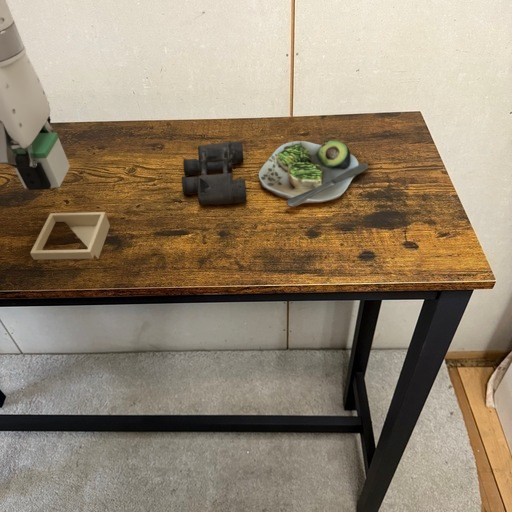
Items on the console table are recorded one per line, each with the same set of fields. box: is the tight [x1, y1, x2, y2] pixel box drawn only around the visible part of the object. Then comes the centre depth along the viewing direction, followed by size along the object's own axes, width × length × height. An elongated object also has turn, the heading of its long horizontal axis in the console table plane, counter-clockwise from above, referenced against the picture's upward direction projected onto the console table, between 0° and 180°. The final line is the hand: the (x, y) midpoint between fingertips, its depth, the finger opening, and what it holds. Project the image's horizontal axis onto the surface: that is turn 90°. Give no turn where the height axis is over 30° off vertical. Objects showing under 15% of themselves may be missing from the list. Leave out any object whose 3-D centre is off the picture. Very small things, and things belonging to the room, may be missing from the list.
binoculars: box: [181, 141, 248, 206], centre depth 81 cm, size 11×16×6 cm
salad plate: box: [258, 139, 369, 208], centre depth 81 cm, size 19×18×5 cm
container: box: [13, 132, 71, 189], centre depth 63 cm, size 5×5×6 cm
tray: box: [29, 211, 111, 261], centre depth 72 cm, size 9×9×3 cm
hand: (46, 174), depth 64 cm, fingers closed on container, 5 cm apart
